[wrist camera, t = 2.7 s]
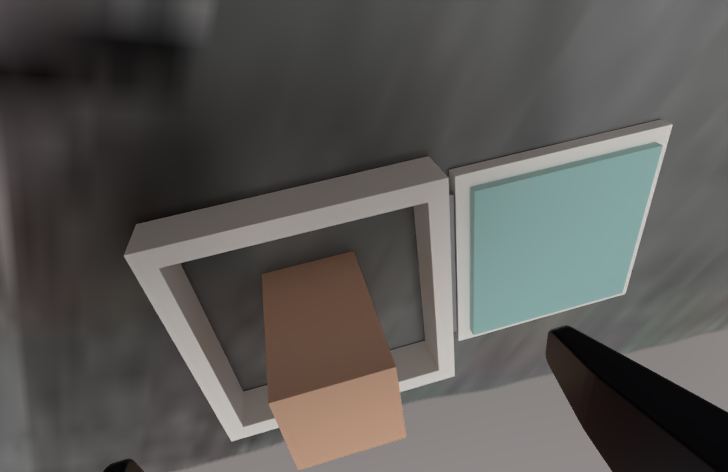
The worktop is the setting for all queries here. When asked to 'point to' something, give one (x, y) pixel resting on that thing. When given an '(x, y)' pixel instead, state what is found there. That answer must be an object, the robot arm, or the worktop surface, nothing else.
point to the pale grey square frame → (283, 219)
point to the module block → (328, 362)
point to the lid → (550, 226)
